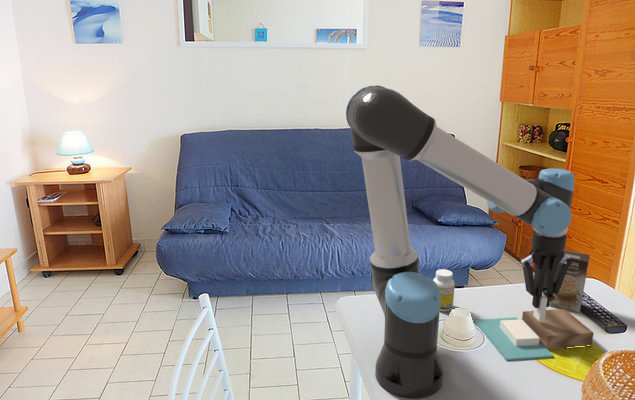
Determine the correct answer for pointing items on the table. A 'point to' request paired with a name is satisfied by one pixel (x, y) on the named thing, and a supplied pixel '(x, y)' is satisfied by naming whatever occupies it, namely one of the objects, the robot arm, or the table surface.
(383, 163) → the robot arm
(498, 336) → the mat
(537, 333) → the wooden block
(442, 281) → the pill bottle
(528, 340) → the cream flat block
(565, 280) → the coffee box
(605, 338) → the table surface
